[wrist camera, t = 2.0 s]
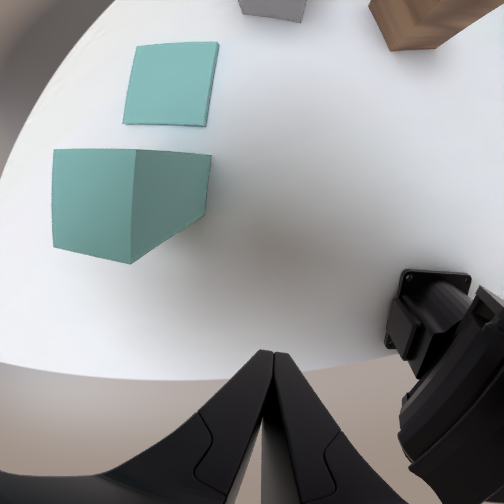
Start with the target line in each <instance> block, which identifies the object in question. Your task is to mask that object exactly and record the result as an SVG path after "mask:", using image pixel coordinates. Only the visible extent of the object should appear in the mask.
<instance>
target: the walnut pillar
mask: <svg viewBox="0 0 504 504" xmlns="http://www.w3.org/2000/svg"><path fill="white" fill-rule="evenodd" d="M503 3H504V0H371V2H370V4H369V5H368V7H369V9H370V11H371V12H372V14H373V16H374V18H375V20H376V22H377V24H378V26H379V28H380V30H381V32H382V34H383V36H384V39H385V41H386V43H387V45H388V47H389V50H390V51H400V50H417V49H436V48H437V47H439V46H440V45H441V44H443V43H444V42H446V41H447V40H449V39H450V38H451V37H453V36H454V35H456V34H457V33H459V32H460V31H462V30H463V29H465V28H466V27H468V26H469V25H471V24H472V23H474V22H475V21H477V20H478V19H480V18H481V17H483V16H484V15H486V14H488V13H489V12H491V11H492V10H494V9H495V8H497V7H499V6H500V5H502V4H503Z"/></svg>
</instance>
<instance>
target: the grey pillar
mask: <svg viewBox="0 0 504 504" xmlns="http://www.w3.org/2000/svg"><path fill="white" fill-rule="evenodd" d="M238 2H239V4H240V7H241V10H242V13H243V14H247V15H256V16H264V17H271V18H277V19H283V20H288V21H294V22H299V23H301V20H302V16H303V12H304V8H305V4H306V0H238Z"/></svg>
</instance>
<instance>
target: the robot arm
mask: <svg viewBox="0 0 504 504" xmlns="http://www.w3.org/2000/svg"><path fill="white" fill-rule="evenodd" d="M408 275H410V278H409V279H406V277H407V276H408ZM466 278H467V280H466V282H465V279H466ZM471 280H472V278H471V276H470V275H468V274H467V273H454V272H440V271H426V270H412V269H407V270H405V271H404V272H403V273H402V275H401V279H400V284H399V288H398V293H397V297H395V298H394V300H393V303H392V307H391V311H390V315H389V319H388V322H387V326H386V329H387V334H386V337H385V341H384V344H385V346H386V348H387V349H397V351H398V353H399V354H400V356H401V358H402V359H403V361H408V363H409V365H410V367H411V369H412V371H413V373H414V375H415V377H416V378H417V379H420V380H419V381H418V382H417V384H416V385H415V386H414V387H413V388H412V390H411V391H410V392H409V393H407V394H406V395H405V396H404V397H403V398H402V408H401V411H400V415H399V421H400V429H401V431H400V432H398V440H399V442H400V445H401V447H402V450H403V452H404V454H405V456H406V457H407V458H408V460H409V461H410V462H411V463H412V464H411V465H410V466H409V467H408V468H409V470H410V471H411V472H412V473H414V474H415V475H417V476H419V477H420V478H422V479H423V480H424V481H425V482H426V483H427V484H428V485H429V486H430V487H431V488H432V489H433V490H434V491H435V493H436V494H437V496H438V497H439V499H440V500H441V502H442V504H481V503H483V502H489V503H500V504H504V300H503V299H501V298H500V297H498V296H496V295H495V294H493V293H492V292H490V291H488V290H487V289H485V288H484V287H482V286H479V287H478V289H477V291H476V296H475V298H474V300H473V301H472V300H471V299H470V298H469V297H468V296H467V295H468V292H469V288H470V285H471ZM391 341H393V342H392V343H391V344H389V342H391ZM262 418H263V420H262ZM261 422H262V466H261V467H262V468H261V470H262V471H261V504H408V503H407V502H406V501H405V500H403V499H402V498H401V497H400V496H399V495H398V494H397V493H396V492H395V491H393V489H392V488H391V487H390V486H389V485H388V484H387V483H386V482H385V481H384V480H383V479H382V478H381V477H380V476H379V475H378V474H377V473H376V472H375V471H374V470H373V469H372V468H371V466H370V465H369V464H368V463H367V462H366V461H365V460H364V459H363V458H362V456H361V455H360V454H359V453H358V452H357V450H356V449H355V448H354V447H353V445H352V444H351V443H350V441H349V440H348V438H347V437H346V436H345V435H344V433H343V432H342V431H341V429H340V427H339V426H338V425H337V423H336V422H335V420H334V419H333V417H332V416H331V415H330V413H329V412H328V410H327V409H326V408H325V406H324V405H323V403H322V402H321V400H320V399H319V397H318V396H317V394H316V393H315V392H314V390H313V389H312V387H311V386H310V385H309V383H308V381H307V380H306V379H305V377H304V376H303V374H302V373H301V371H300V370H299V368H298V367H297V365H296V364H295V362H294V361H293V359H292V358H291V356H290V355H289V354H288V353H282V352H275V353H273V352H272V351H268V350H261V349H260V350H258V351H257V352H256V353H255V355H254V356H253V357H252V358H251V359H250V360H249V361H248V362H247V363H246V364H245V365H244V366H243V367H242V368H241V369H240V370H239V371H238V372H237V373H236V374H235V375H234V376H233V377H232V378H231V379H230V380H229V381H228V382H227V383H226V384H225V385H224V386H223V387H222V388H221V389H220V390H219V391H218V392H217V393H216V394H215V395H214V396H213V397H211V398H210V399H209V400H208V401H207V402H206V403H205V404H204V405H203V406H202V407H201V408H200V409H199V410H198V411H197V412H196V413H194V414H193V415H192V416H191V417H190V418H189V419H188V420H187V421H186V422H184V423H183V424H182V425H181V426H180V427H178V428H177V429H176V430H175V431H174V432H172V433H171V434H169V435H168V436H166V437H165V438H164V439H162V440H161V441H159V442H157V443H156V444H154V445H153V446H151V447H150V448H148V449H146V450H145V451H143V452H142V453H140V454H138V455H136V456H135V457H133V458H131V459H130V460H128V461H126V462H124V463H123V464H121V465H119V466H117V467H115V468H113V469H111V470H109V471H106V472H103V473H99V474H95V475H86V476H31V475H17V474H12V473H7V472H4V471H1V470H0V504H234V503H235V500H236V497H237V495H238V492H239V489H240V486H241V483H242V480H243V478H244V475H245V472H246V469H247V466H248V463H249V460H250V457H251V454H252V451H253V448H254V445H255V442H256V439H257V436H258V433H259V430H260V426H261Z"/></svg>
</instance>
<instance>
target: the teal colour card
mask: <svg viewBox="0 0 504 504" xmlns="http://www.w3.org/2000/svg"><path fill="white" fill-rule="evenodd" d="M218 48H219V44H218V42H182V43H166V44H154V45H145V46H137V47H136V52H135V56H134V60H133V65H132V70H131V75H130V80H129V85H128V90H127V96H126V102H125V109H124V115H123V122H122V123H123V124H167V125H191V126H206V121H207V114H208V107H209V101H210V94H211V88H212V82H213V76H214V70H215V65H216V59H217V54H218Z"/></svg>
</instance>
